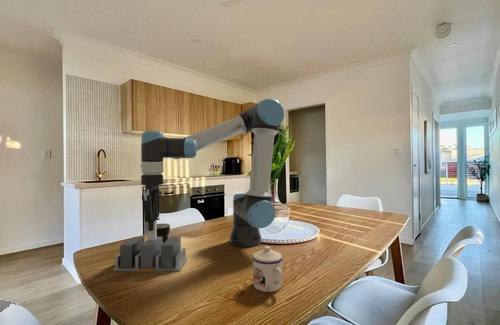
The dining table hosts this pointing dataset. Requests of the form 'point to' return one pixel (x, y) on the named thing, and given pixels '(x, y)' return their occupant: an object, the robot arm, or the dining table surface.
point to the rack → (165, 260)
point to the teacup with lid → (267, 270)
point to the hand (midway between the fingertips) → (152, 238)
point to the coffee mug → (163, 231)
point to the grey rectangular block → (150, 252)
